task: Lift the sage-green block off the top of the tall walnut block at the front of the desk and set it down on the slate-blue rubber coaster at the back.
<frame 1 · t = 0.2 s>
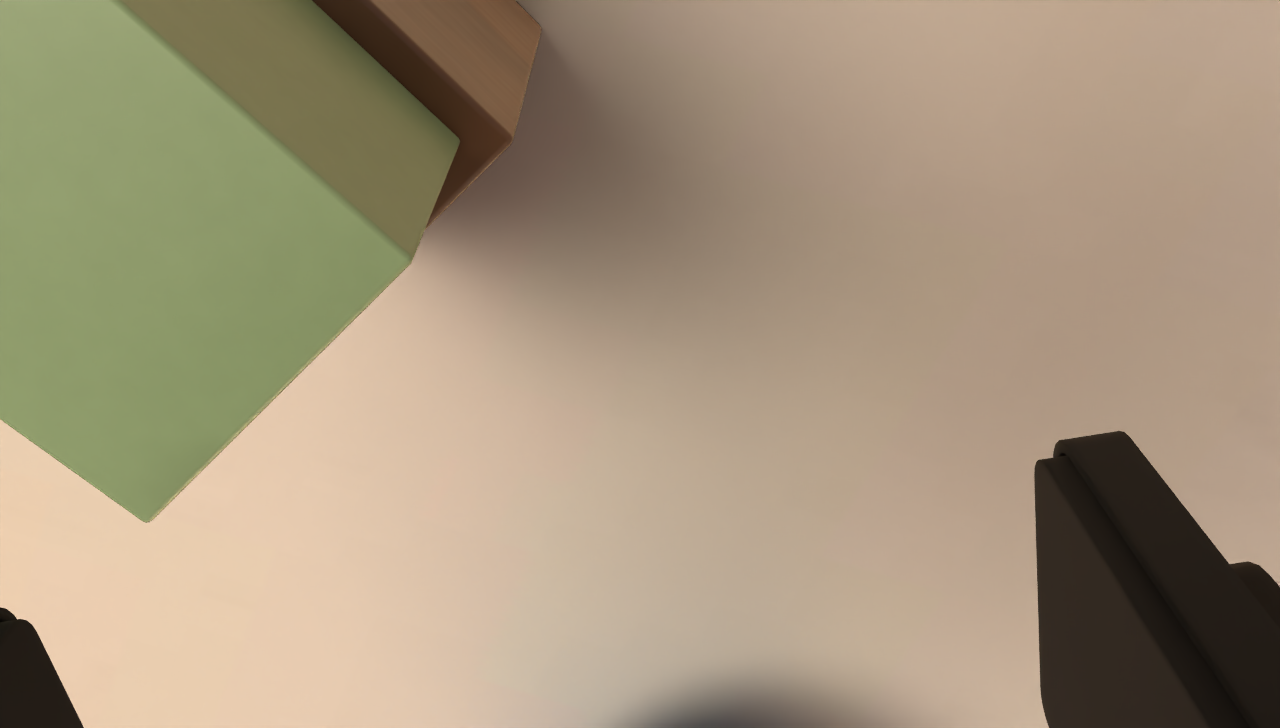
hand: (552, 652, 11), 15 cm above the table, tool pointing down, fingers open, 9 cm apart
base block: (341, 26, 23), on the table, touching top block
top block: (223, 138, 16), point 8 cm above the table, touching base block
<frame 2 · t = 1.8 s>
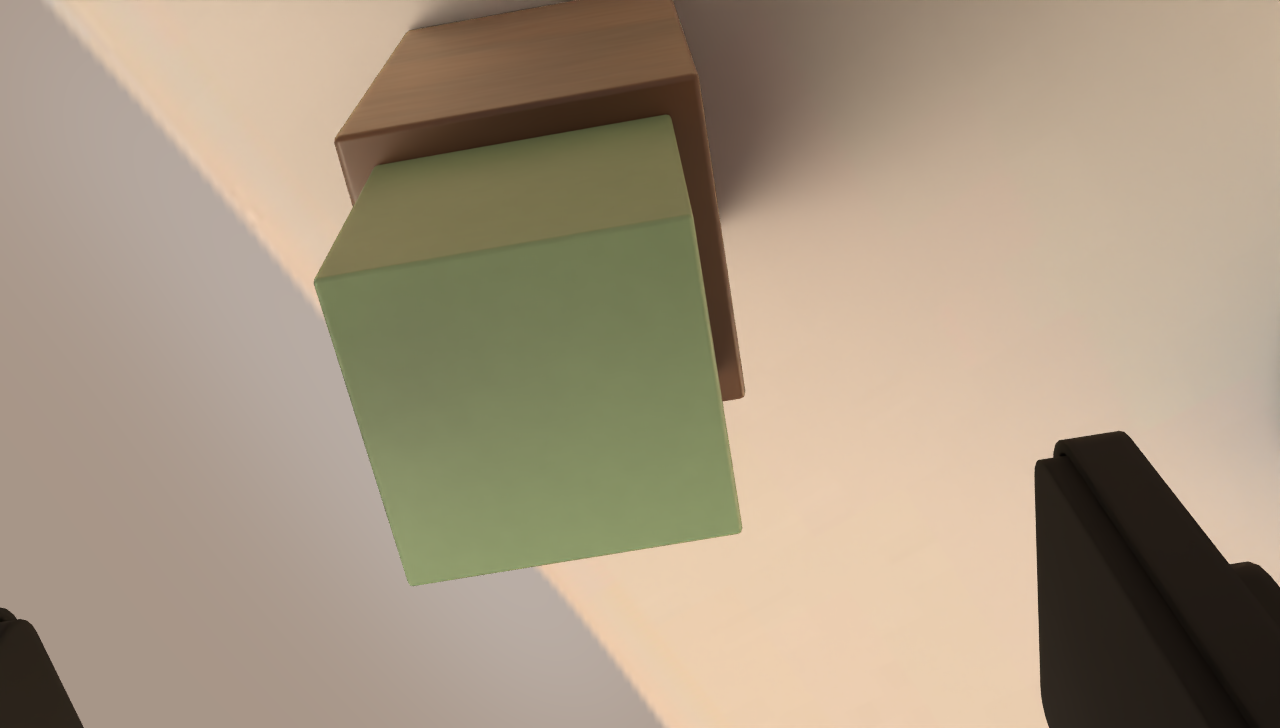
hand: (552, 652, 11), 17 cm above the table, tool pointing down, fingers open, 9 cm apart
base block: (562, 135, 26), on the table, touching top block
top block: (551, 276, 19), point 8 cm above the table, touching base block
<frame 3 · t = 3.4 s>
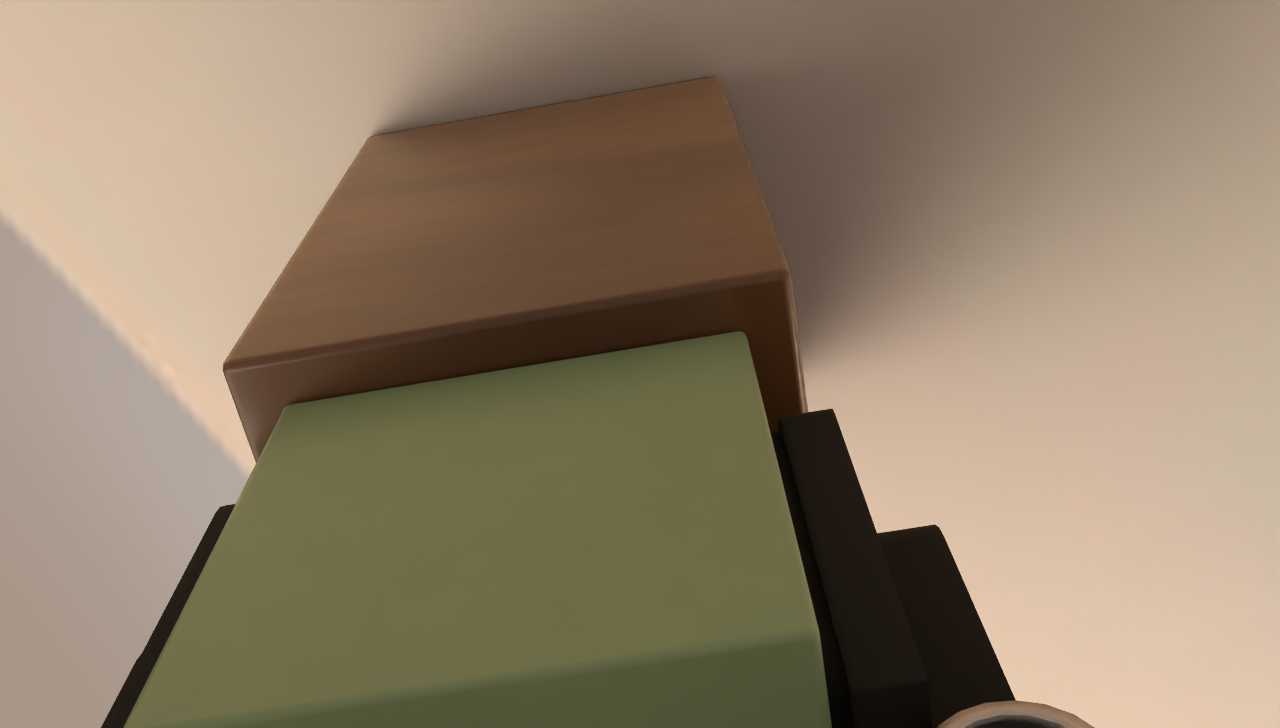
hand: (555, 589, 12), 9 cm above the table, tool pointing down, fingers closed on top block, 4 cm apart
base block: (575, 269, 20), on the table, touching top block
top block: (558, 556, 13), point 8 cm above the table, touching base block, gripper
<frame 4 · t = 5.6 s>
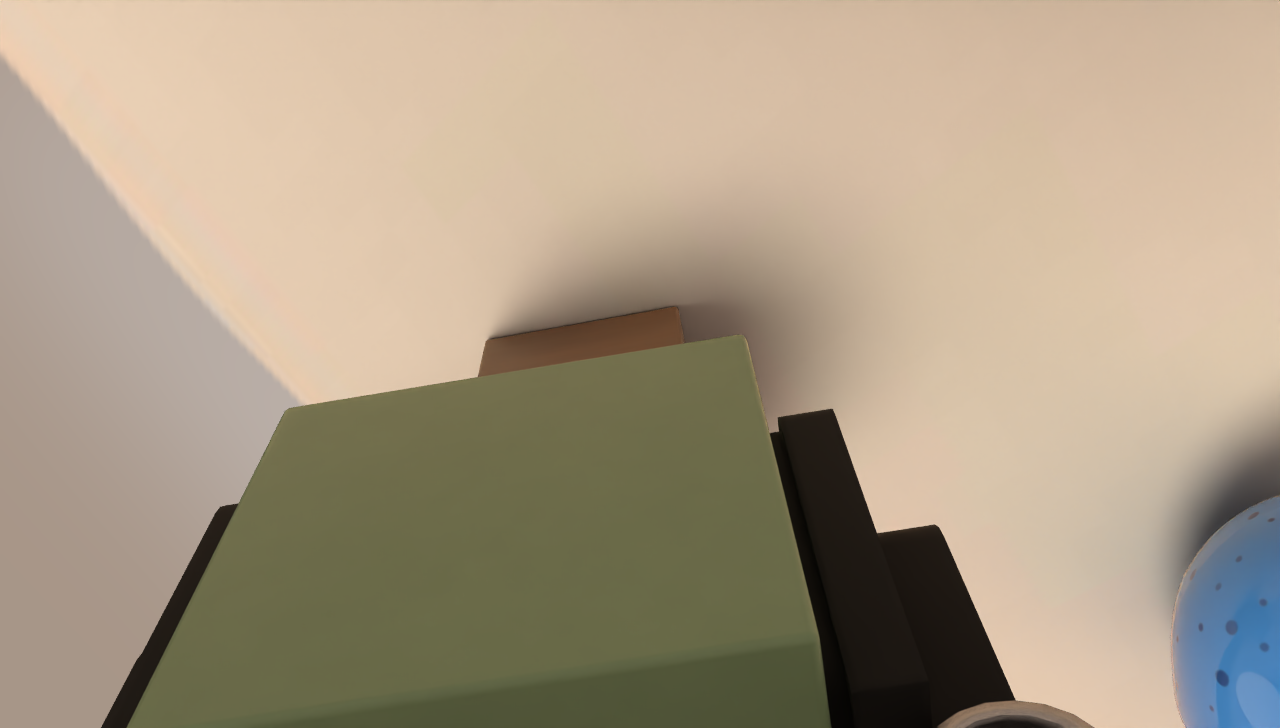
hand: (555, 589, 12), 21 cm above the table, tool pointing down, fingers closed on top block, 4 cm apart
base block: (600, 407, 35), on the table
top block: (558, 559, 13), point 21 cm above the table, touching gripper
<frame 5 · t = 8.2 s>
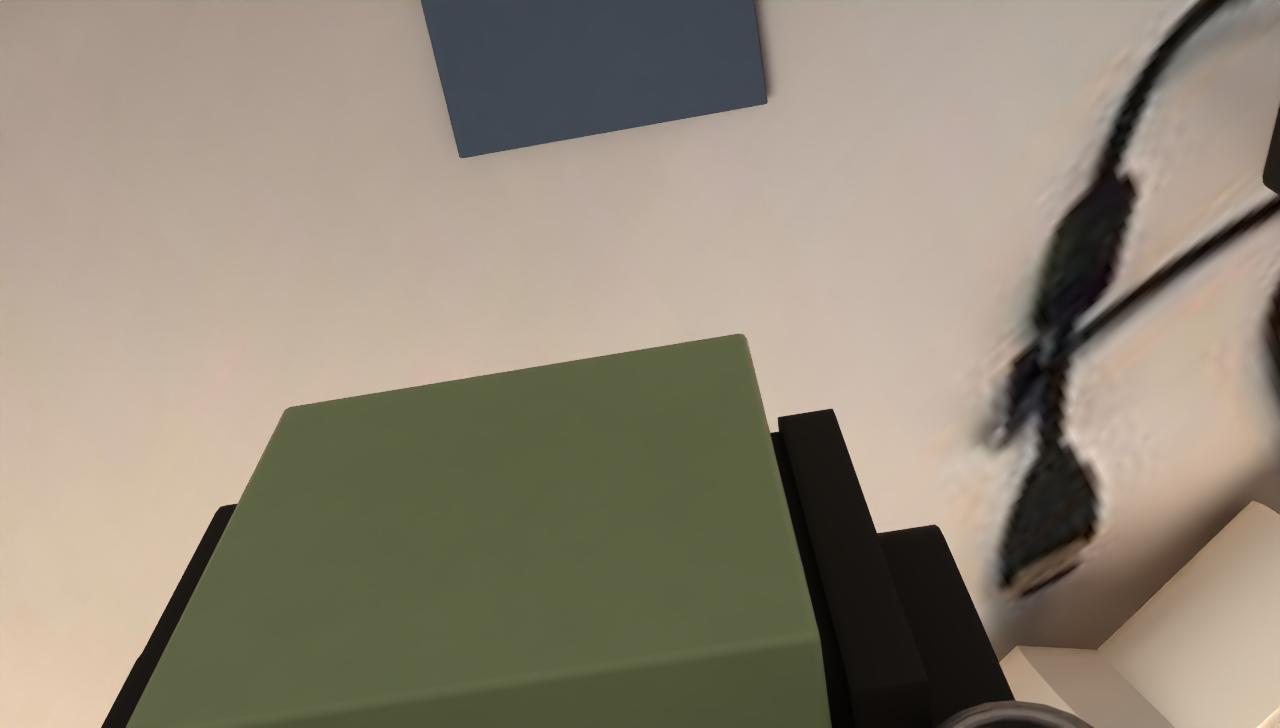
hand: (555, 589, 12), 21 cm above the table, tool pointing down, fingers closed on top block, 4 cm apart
spotlight: (1115, 624, 39), on the table
top block: (558, 559, 13), point 20 cm above the table, touching gripper
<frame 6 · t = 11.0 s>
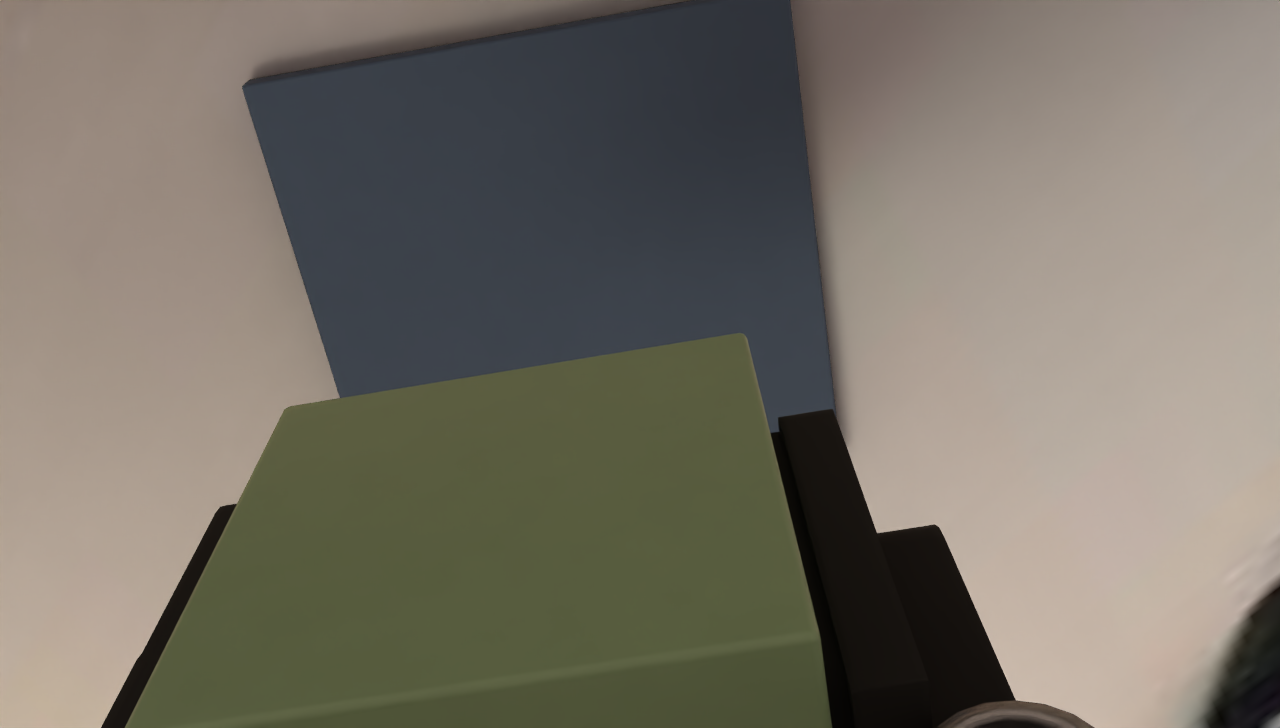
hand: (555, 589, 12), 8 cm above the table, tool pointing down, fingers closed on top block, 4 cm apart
coaster: (566, 282, 19), on the table
top block: (558, 558, 13), point 8 cm above the table, touching gripper
when the fingers open (1 cm above the table, at t = 13.0 s): top block stays where it is, resting on coaster.
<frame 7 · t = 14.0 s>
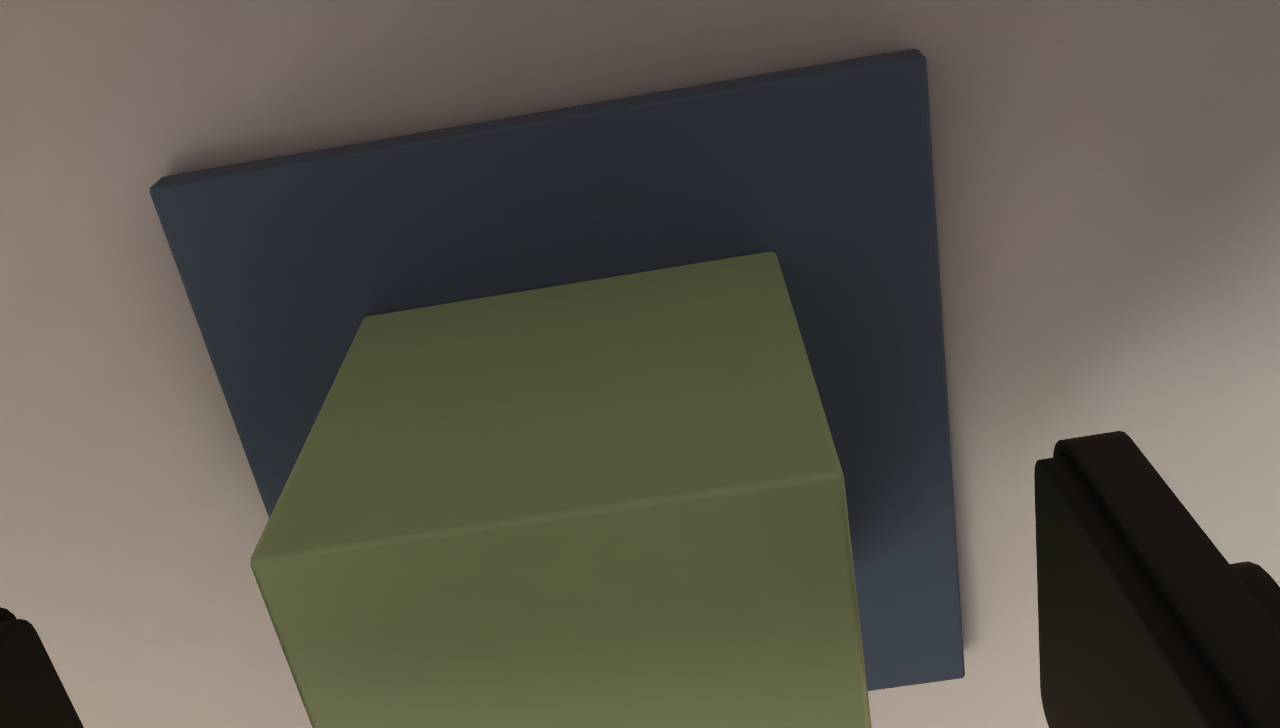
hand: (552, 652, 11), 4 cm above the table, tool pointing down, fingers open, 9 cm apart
coaster: (601, 442, 14), on the table
top block: (604, 459, 14), resting on coaster
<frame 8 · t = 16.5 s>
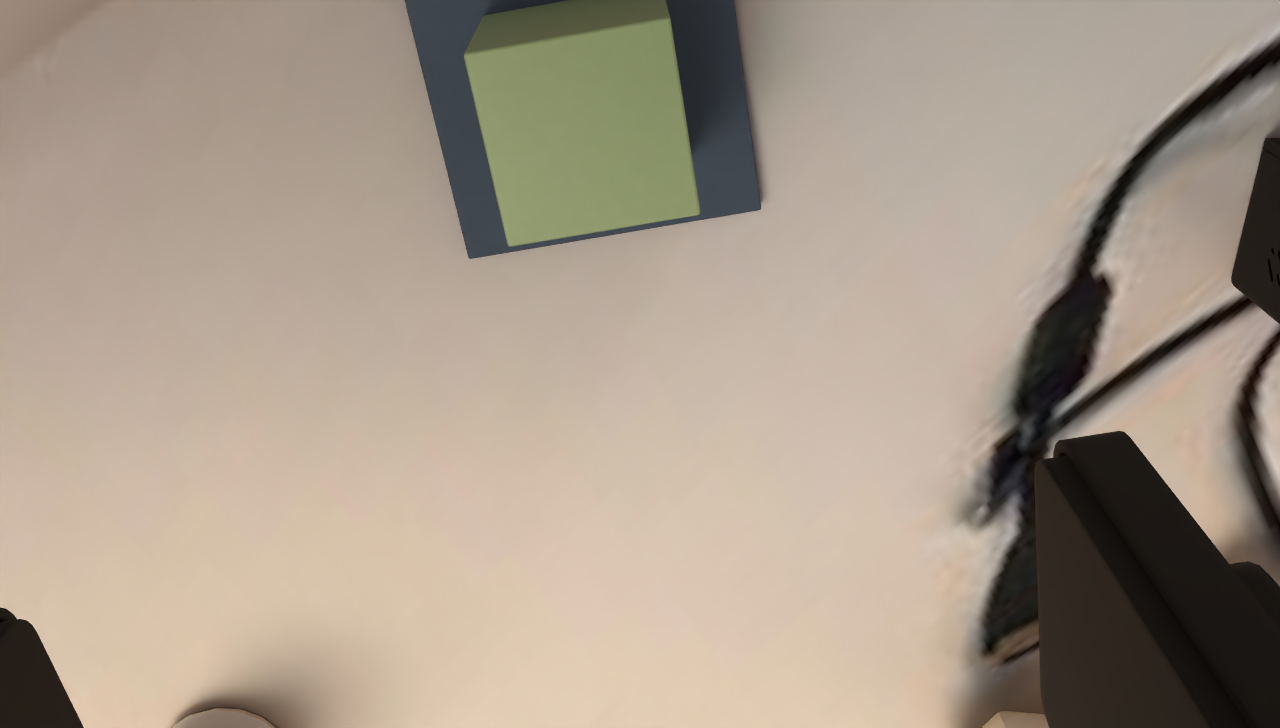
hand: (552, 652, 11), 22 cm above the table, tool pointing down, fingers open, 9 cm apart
spotlight: (1093, 689, 41), on the table
coaster: (586, 85, 31), on the table
top block: (588, 88, 31), resting on coaster
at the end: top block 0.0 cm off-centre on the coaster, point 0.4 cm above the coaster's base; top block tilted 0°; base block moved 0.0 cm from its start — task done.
